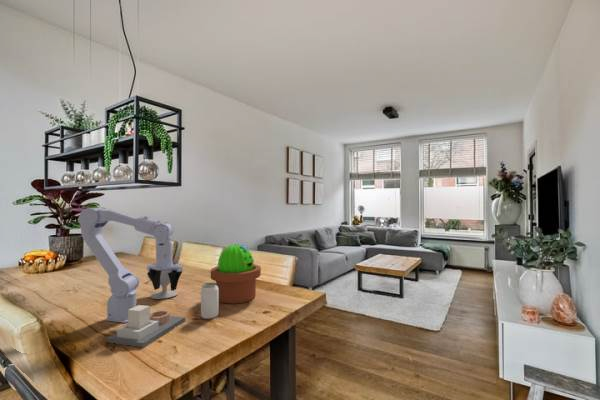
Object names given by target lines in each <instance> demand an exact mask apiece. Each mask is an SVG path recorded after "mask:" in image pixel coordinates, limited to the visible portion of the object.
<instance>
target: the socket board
mask: <svg viewBox="0 0 600 400" xmlns="http://www.w3.org/2000/svg"><path fill="white" fill-rule="evenodd" d="M185 322H186V317H184V316H174V315H171V311H169V310H166V309H165V310H164V309H162V310H155V311H153V312H150V324H149V325H147V326H145V327H143V328H141V329H140V330H136V329H128V323H127V324H126V323H125V324H124V325H122V326H121V327H118V328H117V329H116V332H115V333H113V334H111V335H109V336H107V337H106V339H105V340H106V343H107V342H109V343H108V344H113V343H115V344H114V345H120V344H123V345H122V346H126V345H131V346H130V347H133V346H137V347H136V348H139V347H144V348H146V347H148V344H149V345H151V344H152V343H153V341H154V342H155V341H157V340H158V339H160V338H161V337H163V336H165V335H167V333H169V332H171V331H172V330H174V329H176V328H178V325H179V326H180V325H182V324H183V323H185ZM175 327H176V328H175ZM164 334H165V335H164ZM145 346H146V347H145Z"/></svg>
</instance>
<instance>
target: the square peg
mask: <svg viewBox="0 0 600 400" xmlns="http://www.w3.org/2000/svg"><path fill="white" fill-rule="evenodd" d="M150 310H151V306H150V305H143V304H142V305H141V304H138V305H136V306H135V307H133V308H131V309H129V310H128V322H127V324H128V329H136V330H140V329H141V328H143V327H145V326H147V325H149V324H150V313H151V311H150Z"/></svg>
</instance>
